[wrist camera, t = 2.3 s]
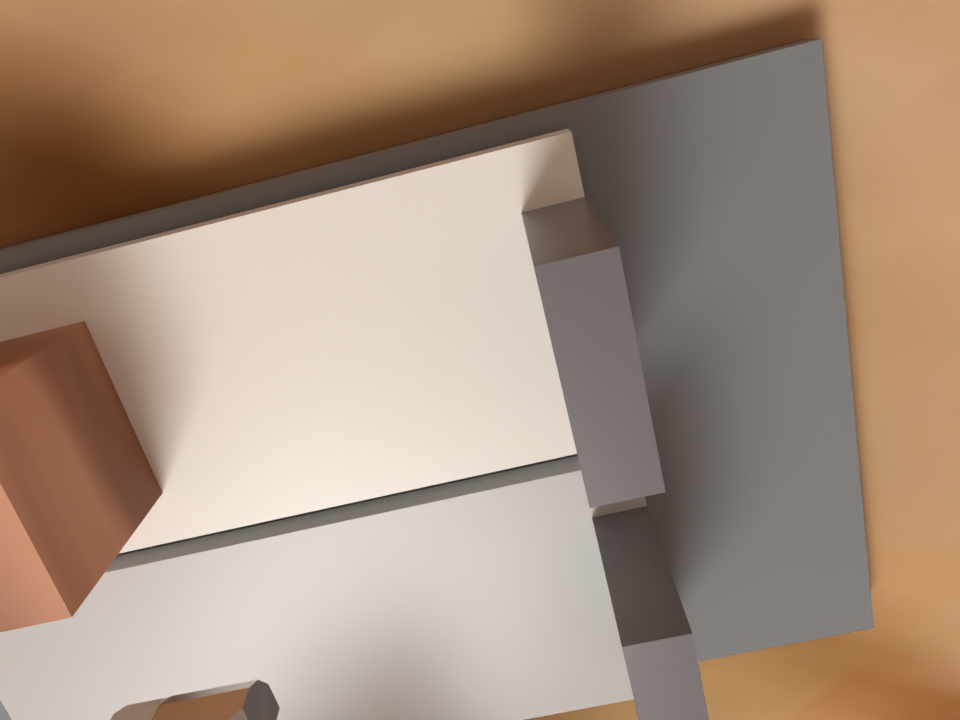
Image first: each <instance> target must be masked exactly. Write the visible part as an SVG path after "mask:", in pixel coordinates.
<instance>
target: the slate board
mask: <svg viewBox="0 0 960 720" xmlns="http://www.w3.org/2000/svg"><path fill="white" fill-rule="evenodd" d="M564 129H569V130H570V131H571V132H572V137H573V142H574V147H575V152H576V157H577V162H578V166H579V171H580V176H581V181H582V186H583V191H584V196H585V198H586V200H587V201H588V202H589V204H590V205H591V207H592V208H593V210H594V211H595V213H596V214H597V215H598V217H599V218H600V220H601V221H602V223H603V224H604V226H605V227H606V228H607V230H608V231H609V233H610V234H611V236H612V237H613V239H614V240H615V242H616V243H617V244H618V246H619V250H620V255H621V260H622V266H623V271H624V276H625V281H626V287H627V292H628V297H629V302H630V308H631V313H632V318H633V323H634V329H635V334H636V339H637V344H638V350H639V355H640V360H641V365H642V371H643V376H644V381H645V387H646V392H647V397H648V402H649V408H650V413H651V418H652V423H653V429H654V434H655V439H656V444H657V450H658V455H659V460H660V465H661V471H662V476H663V481H664V486H665V492H664V493H659V494H655V495H650V496H645V499H646V504H647V508H648V511H649V513H650V516H651V519H652V522H653V524H654V527H655V530H656V533H657V536H658V538H659V541H660V544H661V547H662V550H663V552H664V555H665V558H666V561H667V564H668V566H669V569H670V572H671V575H672V578H673V580H674V583H675V586H676V589H677V592H678V594H679V597H680V600H681V603H682V606H683V608H684V611H685V614H686V617H687V620H688V622H689V625H690V628H691V631H692V634H693V639H694V644H695V649H696V655H697V660H698V661H703V660H708V659H714V658H719V657H724V656H730V655H735V654H740V653H745V652H751V651H756V650H761V649H766V648H772V647H777V646H782V645H787V644H793V643H798V642H803V641H808V640H814V639H819V638H824V637H829V636H835V635H840V634H845V633H850V632H856V631H861V630H866V629H872V628H874V626H873V614H872V603H871V592H870V580H869V569H868V558H867V546H866V535H865V523H864V512H863V501H862V489H861V478H860V467H859V455H858V444H857V432H856V421H855V410H854V398H853V387H852V376H851V364H850V353H849V341H848V330H847V319H846V307H845V296H844V285H843V273H842V262H841V250H840V239H839V228H838V216H837V205H836V194H835V182H834V171H833V159H832V148H831V137H830V125H829V114H828V103H827V91H826V80H825V68H824V57H823V46H822V39H805V40H801V41H797V42H794V43H790V44H786V45H782V46H778V47H774V48H771V49H767V50H763V51H759V52H755V53H751V54H748V55H744V56H740V57H736V58H732V59H728V60H724V61H721V62H717V63H713V64H709V65H705V66H701V67H698V68H694V69H690V70H686V71H682V72H678V73H674V74H671V75H667V76H663V77H659V78H655V79H651V80H648V81H644V82H640V83H636V84H632V85H628V86H624V87H621V88H617V89H613V90H609V91H605V92H601V93H598V94H594V95H590V96H586V97H582V98H578V99H574V100H571V101H567V102H563V103H559V104H555V105H551V106H548V107H544V108H540V109H536V110H532V111H528V112H525V113H521V114H517V115H513V116H509V117H505V118H501V119H498V120H494V121H490V122H486V123H482V124H478V125H475V126H471V127H467V128H463V129H459V130H455V131H451V132H448V133H444V134H440V135H436V136H432V137H428V138H425V139H421V140H417V141H413V142H409V143H405V144H401V145H398V146H394V147H390V148H386V149H382V150H378V151H375V152H371V153H367V154H363V155H359V156H355V157H351V158H348V159H344V160H340V161H336V162H332V163H328V164H325V165H321V166H317V167H313V168H309V169H305V170H301V171H298V172H294V173H290V174H286V175H282V176H278V177H275V178H271V179H267V180H263V181H259V182H255V183H252V184H248V185H244V186H240V187H236V188H232V189H228V190H225V191H221V192H217V193H213V194H209V195H205V196H202V197H198V198H194V199H190V200H186V201H182V202H178V203H175V204H171V205H167V206H163V207H159V208H155V209H152V210H148V211H144V212H140V213H136V214H132V215H128V216H125V217H121V218H117V219H113V220H109V221H105V222H102V223H98V224H94V225H90V226H86V227H82V228H78V229H75V230H71V231H67V232H63V233H59V234H55V235H52V236H48V237H44V238H40V239H36V240H32V241H29V242H25V243H21V244H17V245H13V246H9V247H5V248H2V249H0V274H3V273H7V272H11V271H15V270H19V269H22V268H26V267H30V266H34V265H38V264H42V263H46V262H50V261H54V260H57V259H61V258H65V257H69V256H73V255H77V254H81V253H85V252H89V251H93V250H96V249H100V248H104V247H108V246H112V245H116V244H120V243H124V242H128V241H131V240H135V239H139V238H143V237H147V236H151V235H155V234H159V233H163V232H167V231H170V230H174V229H178V228H182V227H186V226H190V225H194V224H198V223H202V222H205V221H209V220H213V219H217V218H221V217H225V216H229V215H233V214H237V213H240V212H244V211H248V210H252V209H256V208H260V207H264V206H268V205H272V204H276V203H279V202H283V201H287V200H291V199H295V198H299V197H303V196H307V195H311V194H314V193H318V192H322V191H326V190H330V189H334V188H338V187H342V186H346V185H350V184H353V183H357V182H361V181H365V180H369V179H373V178H377V177H381V176H385V175H388V174H392V173H396V172H400V171H404V170H408V169H412V168H416V167H420V166H423V165H427V164H431V163H435V162H439V161H443V160H447V159H451V158H455V157H459V156H462V155H466V154H470V153H474V152H478V151H482V150H486V149H490V148H494V147H497V146H501V145H505V144H509V143H513V142H517V141H521V140H525V139H529V138H533V137H536V136H540V135H544V134H548V133H552V132H556V131H560V130H564ZM574 456H577V454H574V455H569V456H565V457H560V458H555V459H551V460H546V461H542V462H537V463H532V464H528V465H523V466H519V467H514V468H509V469H505V470H500V471H496V472H491V473H487V474H482V475H477V476H473V477H468V478H464V479H459V480H454V481H450V482H445V483H441V484H436V485H431V486H427V487H422V488H418V489H413V490H408V491H404V492H399V493H395V494H390V495H385V496H381V497H376V498H372V499H367V500H362V501H358V502H353V503H349V504H344V505H340V506H335V507H330V508H326V509H321V510H317V511H312V512H307V513H303V514H298V515H294V516H289V517H284V518H280V519H275V520H271V521H266V522H261V523H257V524H252V525H248V526H243V527H238V528H234V529H229V530H225V531H220V532H216V533H211V534H206V535H202V536H197V537H193V538H188V539H183V540H179V541H174V542H170V543H165V544H160V545H156V546H151V547H147V548H142V549H137V550H133V551H128V552H124V553H119V554H118V555H117V556H119V555H123V554H128V553H133V552H137V551H142V550H146V549H151V548H156V547H160V546H165V545H169V544H174V543H179V542H183V541H188V540H192V539H197V538H202V537H206V536H211V535H215V534H220V533H225V532H229V531H234V530H238V529H243V528H248V527H252V526H257V525H261V524H266V523H271V522H275V521H280V520H284V519H289V518H294V517H298V516H303V515H307V514H312V513H317V512H321V511H326V510H330V509H335V508H340V507H344V506H349V505H353V504H358V503H363V502H367V501H372V500H376V499H381V498H386V497H390V496H395V495H399V494H404V493H409V492H413V491H418V490H422V489H427V488H432V487H436V486H441V485H445V484H450V483H455V482H459V481H464V480H468V479H473V478H478V477H482V476H487V475H491V474H496V473H501V472H505V471H510V470H514V469H519V468H524V467H528V466H533V465H537V464H542V463H547V462H551V461H556V460H560V459H565V458H570V457H574ZM0 720H12V719H11V717H10V716H9V714H8V712H7V711H6V709H5V707H4V706H3V704H2V702H1V701H0Z"/></svg>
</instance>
